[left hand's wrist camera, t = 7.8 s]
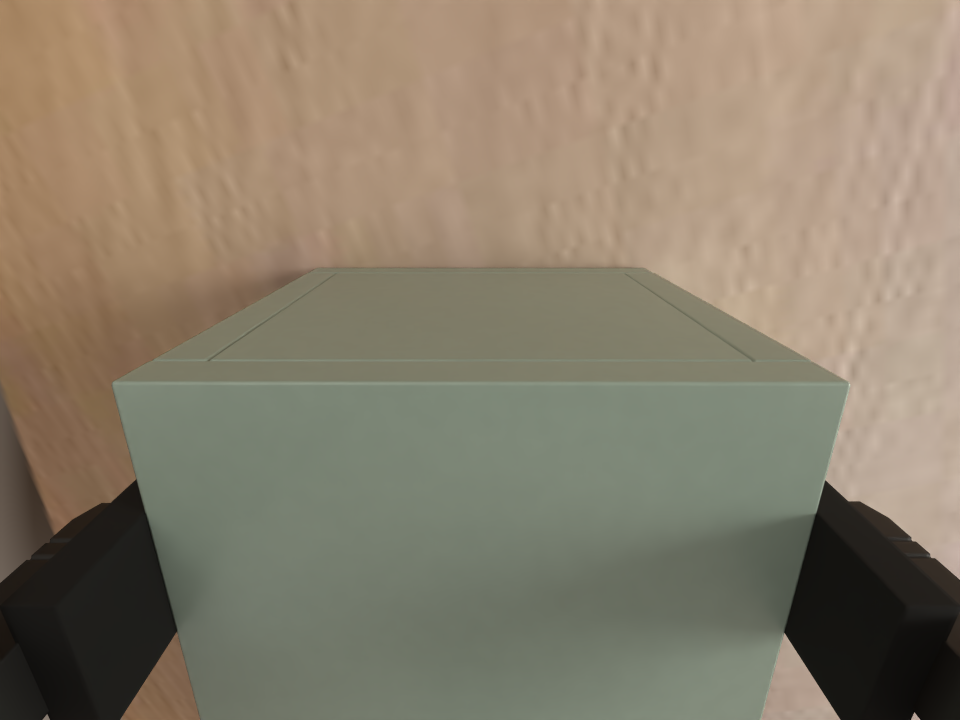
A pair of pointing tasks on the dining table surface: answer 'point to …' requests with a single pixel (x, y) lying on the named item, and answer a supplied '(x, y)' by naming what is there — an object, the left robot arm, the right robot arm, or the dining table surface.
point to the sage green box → (480, 497)
